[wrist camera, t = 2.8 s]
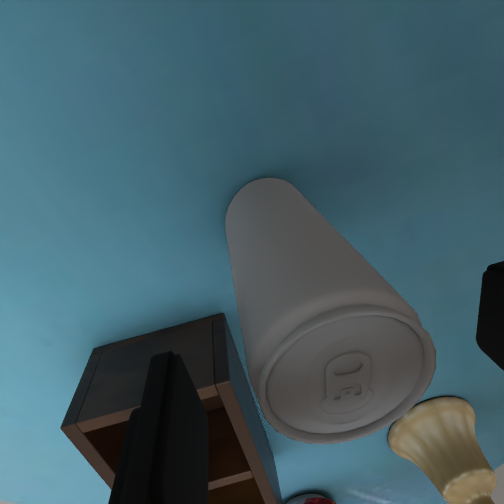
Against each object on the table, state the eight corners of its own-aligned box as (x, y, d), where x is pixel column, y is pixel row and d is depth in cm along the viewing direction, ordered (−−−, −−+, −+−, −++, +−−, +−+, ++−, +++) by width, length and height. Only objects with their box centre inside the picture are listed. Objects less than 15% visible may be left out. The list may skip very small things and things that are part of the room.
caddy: (178, 483, 29) (173, 565, 24) (93, 348, 21) (59, 428, 16) (273, 456, 29) (288, 532, 24) (223, 312, 21) (230, 380, 16)
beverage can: (230, 260, 20) (264, 463, 9) (216, 182, 17) (239, 329, 7) (308, 246, 20) (430, 427, 9) (304, 168, 18) (457, 287, 7)
